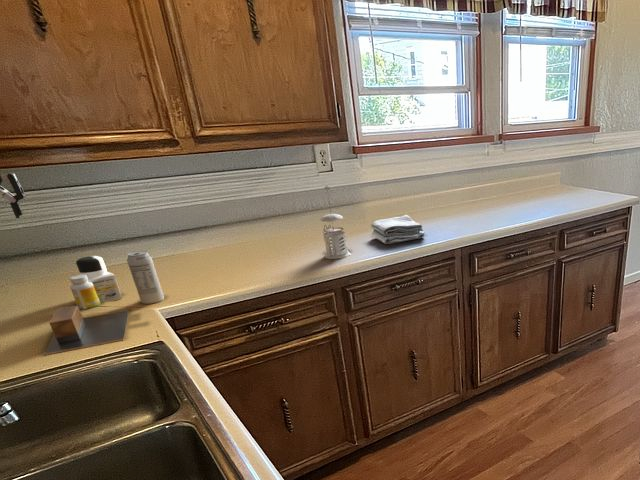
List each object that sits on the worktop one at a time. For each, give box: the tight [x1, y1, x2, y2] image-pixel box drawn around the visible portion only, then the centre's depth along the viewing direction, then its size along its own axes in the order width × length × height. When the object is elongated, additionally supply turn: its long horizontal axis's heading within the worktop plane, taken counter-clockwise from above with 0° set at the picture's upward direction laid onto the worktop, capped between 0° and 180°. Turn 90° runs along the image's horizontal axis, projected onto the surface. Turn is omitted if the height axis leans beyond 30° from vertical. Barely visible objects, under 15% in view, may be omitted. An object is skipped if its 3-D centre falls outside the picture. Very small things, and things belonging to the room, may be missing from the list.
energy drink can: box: [126, 250, 165, 305], centre depth 150 cm, size 6×6×15 cm
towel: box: [370, 214, 425, 245], centre depth 213 cm, size 15×18×8 cm
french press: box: [320, 185, 351, 260], centre depth 188 cm, size 10×12×25 cm
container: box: [75, 255, 123, 303], centre depth 154 cm, size 8×8×13 cm
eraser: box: [49, 304, 85, 343], centre depth 131 cm, size 4×11×6 cm, turn 29°
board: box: [43, 309, 129, 357], centre depth 134 cm, size 16×24×1 cm, turn 29°
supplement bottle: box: [69, 274, 102, 310], centre depth 148 cm, size 5×5×10 cm
